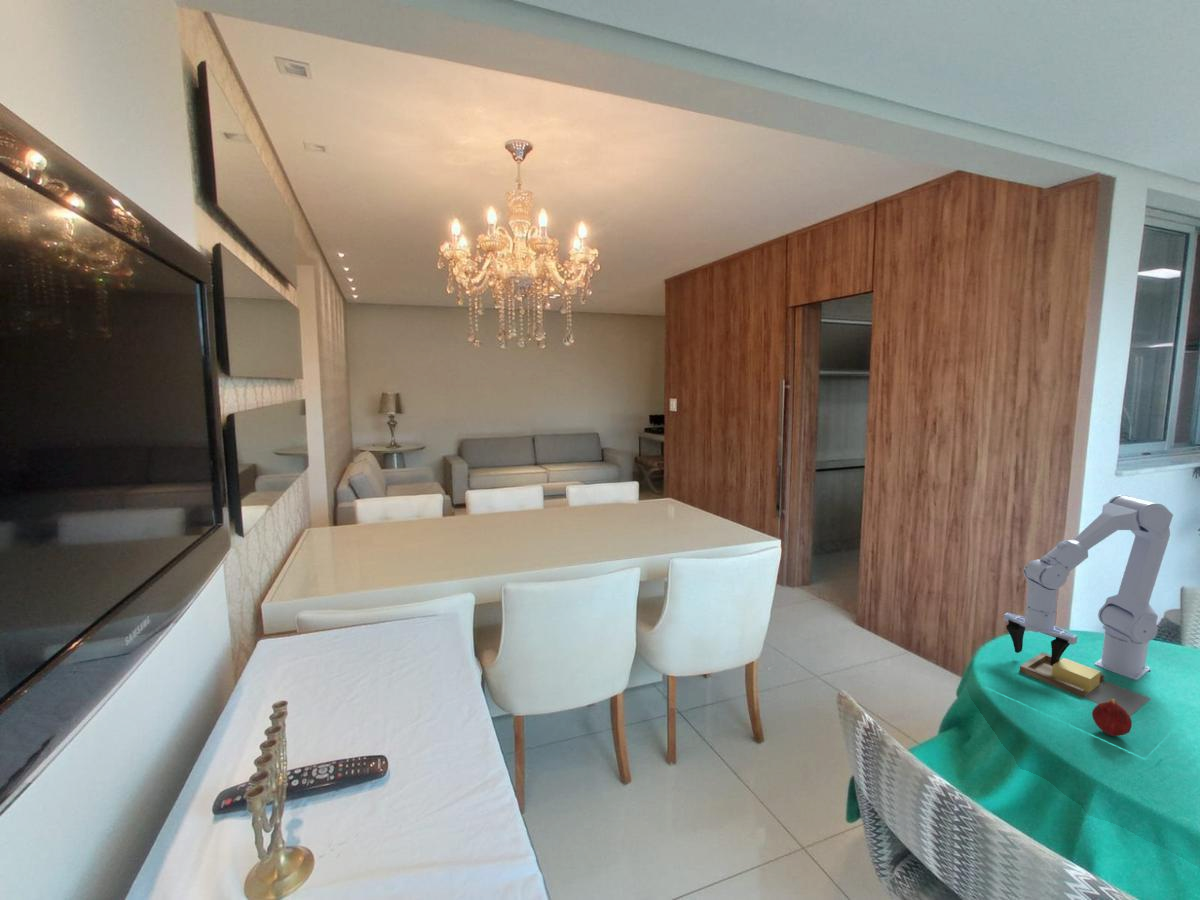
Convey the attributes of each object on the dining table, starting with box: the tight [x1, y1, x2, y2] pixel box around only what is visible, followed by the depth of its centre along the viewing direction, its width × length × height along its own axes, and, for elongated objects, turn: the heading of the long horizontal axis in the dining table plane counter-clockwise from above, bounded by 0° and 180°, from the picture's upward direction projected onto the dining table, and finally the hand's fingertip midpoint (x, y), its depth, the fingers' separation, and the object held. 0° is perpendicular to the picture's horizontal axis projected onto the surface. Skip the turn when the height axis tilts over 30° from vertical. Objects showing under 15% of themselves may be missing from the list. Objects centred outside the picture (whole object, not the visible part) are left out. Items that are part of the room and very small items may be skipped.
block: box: [1052, 657, 1102, 694], centre depth 125 cm, size 6×7×4 cm
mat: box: [1082, 680, 1151, 718], centre depth 119 cm, size 12×8×1 cm, turn 119°
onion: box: [1091, 698, 1133, 737], centre depth 107 cm, size 6×6×8 cm
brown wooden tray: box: [1019, 651, 1105, 698], centre depth 128 cm, size 12×12×2 cm
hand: (1035, 658), depth 132 cm, fingers open, 7 cm apart
